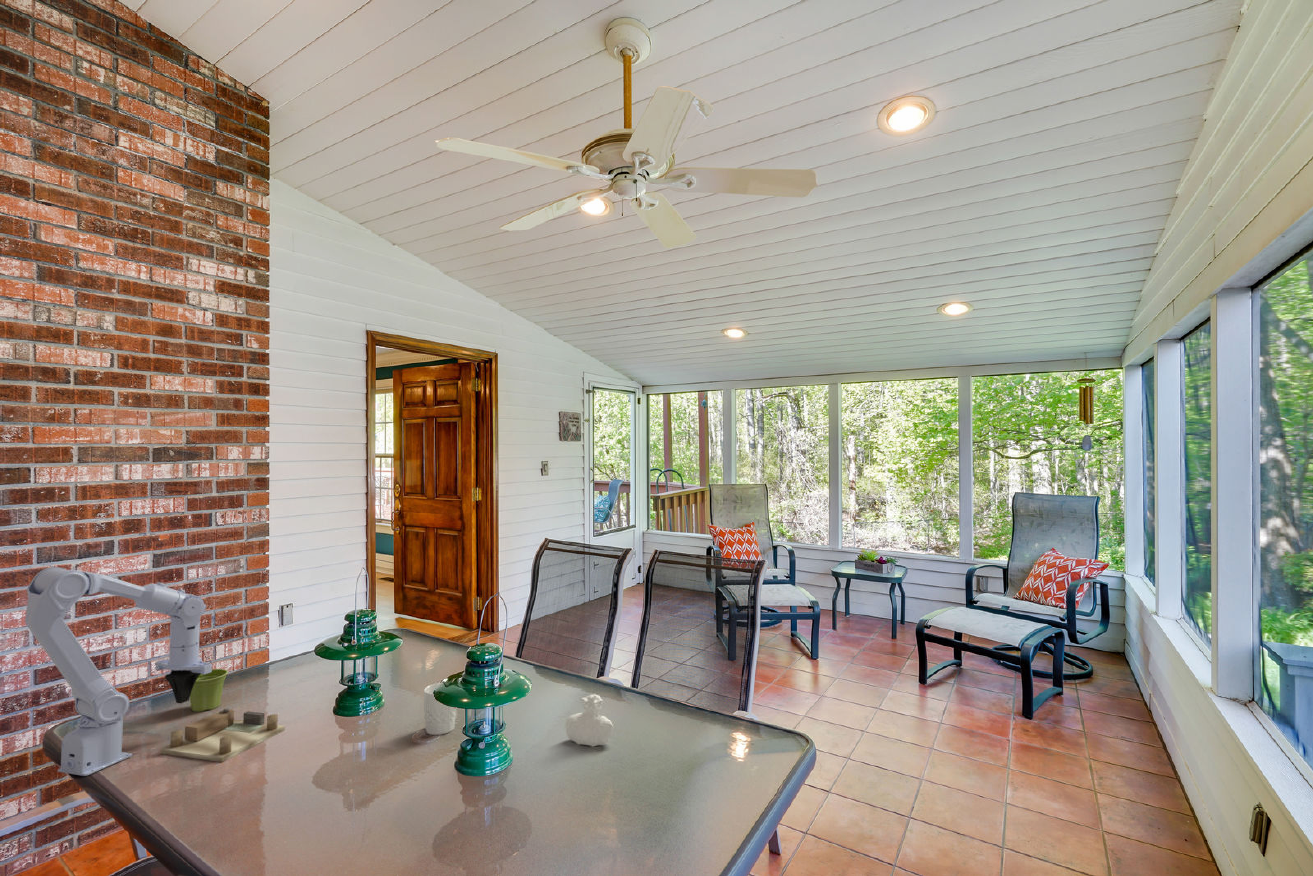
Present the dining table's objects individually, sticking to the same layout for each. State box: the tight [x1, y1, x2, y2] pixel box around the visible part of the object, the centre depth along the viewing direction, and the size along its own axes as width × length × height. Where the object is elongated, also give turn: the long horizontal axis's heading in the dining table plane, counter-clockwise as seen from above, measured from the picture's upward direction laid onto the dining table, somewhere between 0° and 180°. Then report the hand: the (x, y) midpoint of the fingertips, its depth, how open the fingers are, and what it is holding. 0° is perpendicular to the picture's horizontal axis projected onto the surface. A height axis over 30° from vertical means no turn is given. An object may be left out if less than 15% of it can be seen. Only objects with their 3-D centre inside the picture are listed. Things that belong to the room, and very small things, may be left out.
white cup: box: [423, 682, 457, 736], centre depth 154 cm, size 8×8×10 cm
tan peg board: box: [160, 711, 286, 763], centre depth 146 cm, size 17×17×4 cm
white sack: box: [565, 693, 614, 748], centre depth 149 cm, size 12×8×11 cm
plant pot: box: [189, 668, 229, 712], centre depth 166 cm, size 9×9×9 cm
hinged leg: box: [184, 708, 235, 741], centre depth 149 cm, size 11×4×4 cm, turn 167°
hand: (182, 701), depth 149 cm, fingers closed
